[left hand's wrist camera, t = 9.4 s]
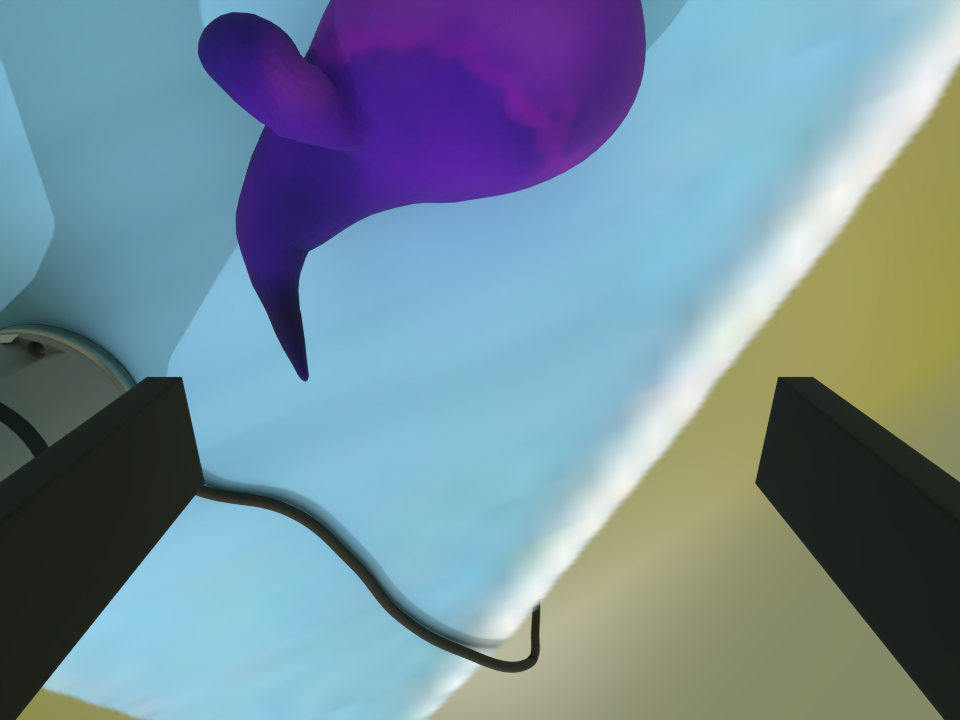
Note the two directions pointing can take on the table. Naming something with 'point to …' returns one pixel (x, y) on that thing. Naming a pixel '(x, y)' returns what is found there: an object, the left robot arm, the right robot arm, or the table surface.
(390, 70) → the toy
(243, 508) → the table surface
